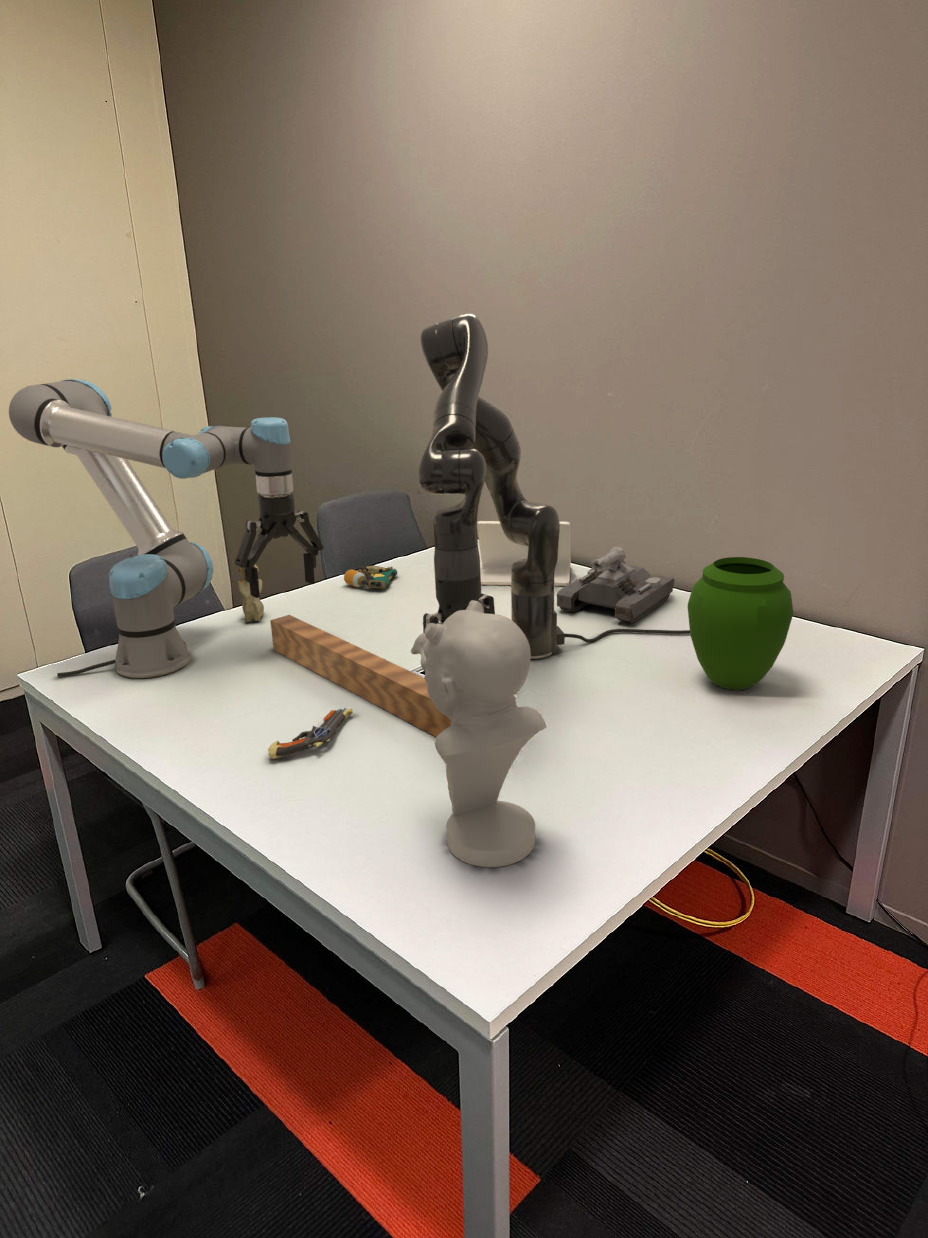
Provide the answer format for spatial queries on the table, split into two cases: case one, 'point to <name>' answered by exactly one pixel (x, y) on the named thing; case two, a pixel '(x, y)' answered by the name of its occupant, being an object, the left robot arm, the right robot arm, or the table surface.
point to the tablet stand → (515, 554)
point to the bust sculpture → (481, 729)
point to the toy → (616, 588)
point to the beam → (359, 672)
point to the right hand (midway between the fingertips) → (461, 661)
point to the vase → (739, 620)
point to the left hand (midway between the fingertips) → (283, 589)
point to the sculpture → (250, 598)
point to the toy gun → (311, 735)
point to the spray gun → (370, 576)
